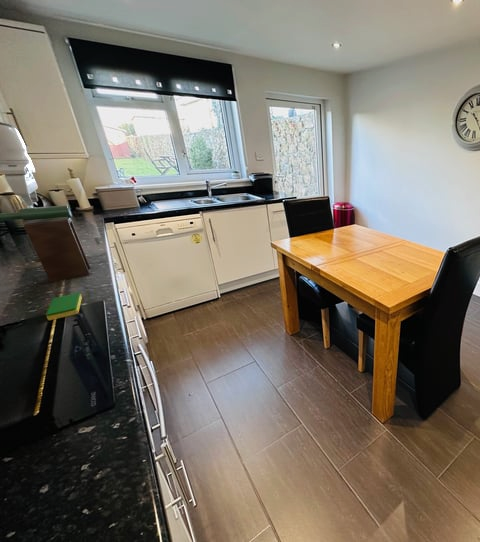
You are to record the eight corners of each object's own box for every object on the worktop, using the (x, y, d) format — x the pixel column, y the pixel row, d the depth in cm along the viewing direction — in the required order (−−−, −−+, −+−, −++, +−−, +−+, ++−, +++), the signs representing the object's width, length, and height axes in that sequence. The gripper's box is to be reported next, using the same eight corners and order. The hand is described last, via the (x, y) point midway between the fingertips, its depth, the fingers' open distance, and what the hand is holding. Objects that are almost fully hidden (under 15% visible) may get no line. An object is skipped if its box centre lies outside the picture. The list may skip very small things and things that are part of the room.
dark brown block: (50, 282, 114) (21, 222, 104) (53, 274, 121) (27, 217, 111) (90, 275, 121) (66, 218, 111) (90, 268, 128) (69, 213, 118)
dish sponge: (48, 321, 90) (45, 315, 89) (55, 303, 100) (52, 297, 99) (78, 314, 94) (75, 308, 93) (82, 298, 104) (79, 292, 103)
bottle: (-9, 226, 102) (-16, 212, 100) (-5, 223, 105) (-12, 210, 103) (71, 218, 114) (66, 206, 112) (72, 216, 117) (67, 204, 115)
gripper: (12, 165, 115) (27, 199, 121) (-3, 170, 101) (15, 208, 106) (34, 165, 119) (48, 198, 125) (23, 170, 105) (39, 207, 110)
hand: (32, 203), depth 115 cm, fingers open, 8 cm apart
